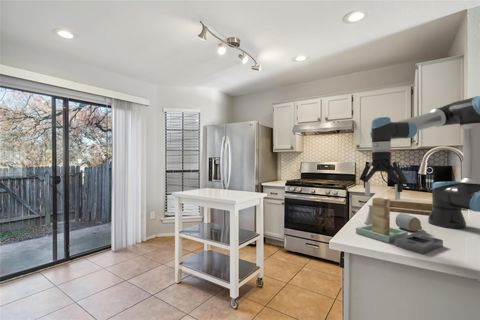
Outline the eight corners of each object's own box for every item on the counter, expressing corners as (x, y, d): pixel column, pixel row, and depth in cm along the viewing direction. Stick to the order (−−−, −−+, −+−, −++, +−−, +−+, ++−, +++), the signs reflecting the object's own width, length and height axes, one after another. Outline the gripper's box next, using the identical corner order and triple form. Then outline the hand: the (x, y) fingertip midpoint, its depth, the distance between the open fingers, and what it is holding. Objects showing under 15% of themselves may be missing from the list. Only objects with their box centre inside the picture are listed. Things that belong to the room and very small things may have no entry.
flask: (377, 222, 128) (377, 204, 128) (381, 226, 121) (381, 207, 121) (362, 221, 130) (362, 204, 130) (365, 225, 123) (365, 206, 123)
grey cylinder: (410, 232, 110) (410, 216, 110) (394, 227, 118) (395, 212, 118) (427, 231, 113) (427, 215, 113) (411, 226, 121) (411, 212, 121)
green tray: (374, 228, 117) (374, 223, 117) (407, 237, 104) (407, 231, 104) (355, 233, 110) (355, 227, 110) (388, 243, 97) (388, 237, 97)
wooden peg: (378, 231, 110) (378, 197, 110) (389, 234, 106) (389, 199, 106) (372, 232, 108) (372, 198, 108) (383, 235, 104) (383, 200, 103)
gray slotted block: (414, 238, 102) (414, 232, 102) (442, 246, 93) (442, 239, 93) (394, 245, 94) (394, 238, 94) (423, 254, 86) (423, 247, 86)
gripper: (351, 152, 116) (352, 194, 116) (406, 150, 94) (407, 202, 94) (360, 152, 120) (361, 193, 120) (416, 150, 98) (417, 200, 98)
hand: (381, 197), depth 107 cm, fingers open, 13 cm apart
